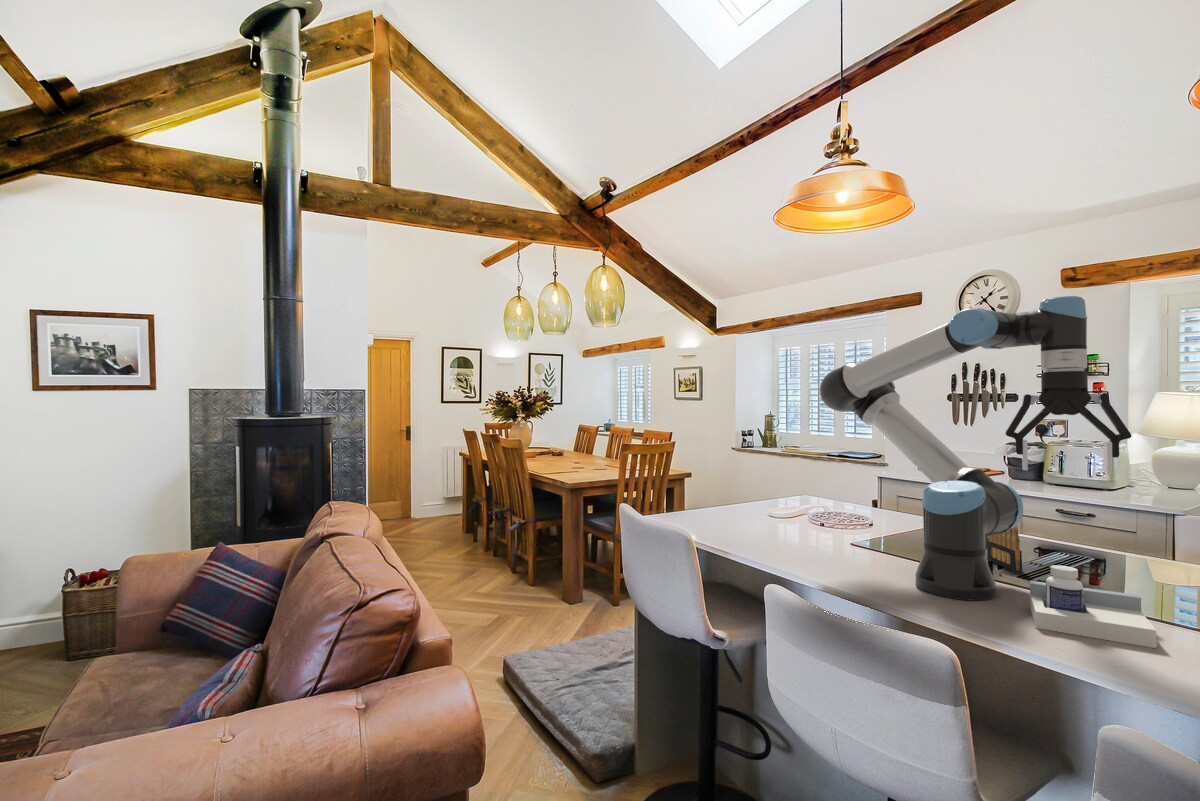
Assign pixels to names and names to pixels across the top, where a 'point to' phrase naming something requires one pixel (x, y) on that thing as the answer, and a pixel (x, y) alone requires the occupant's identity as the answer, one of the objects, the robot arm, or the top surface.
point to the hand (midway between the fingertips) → (1065, 471)
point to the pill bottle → (1064, 589)
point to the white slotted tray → (1096, 616)
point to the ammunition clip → (1005, 550)
